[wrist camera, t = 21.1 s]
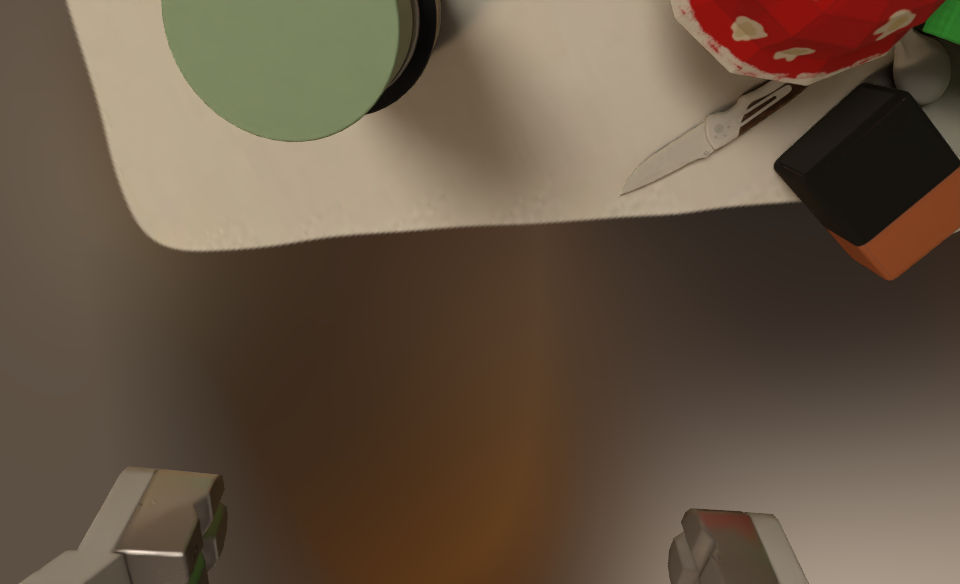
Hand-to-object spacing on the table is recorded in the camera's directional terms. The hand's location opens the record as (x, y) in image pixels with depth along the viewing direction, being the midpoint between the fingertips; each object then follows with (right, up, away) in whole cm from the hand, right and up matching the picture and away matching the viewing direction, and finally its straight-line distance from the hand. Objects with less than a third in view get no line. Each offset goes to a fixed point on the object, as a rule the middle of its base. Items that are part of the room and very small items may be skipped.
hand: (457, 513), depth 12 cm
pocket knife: (+14, +14, +27) cm, 33 cm away
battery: (+20, +13, +26) cm, 35 cm away
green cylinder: (-5, +13, +11) cm, 18 cm away
